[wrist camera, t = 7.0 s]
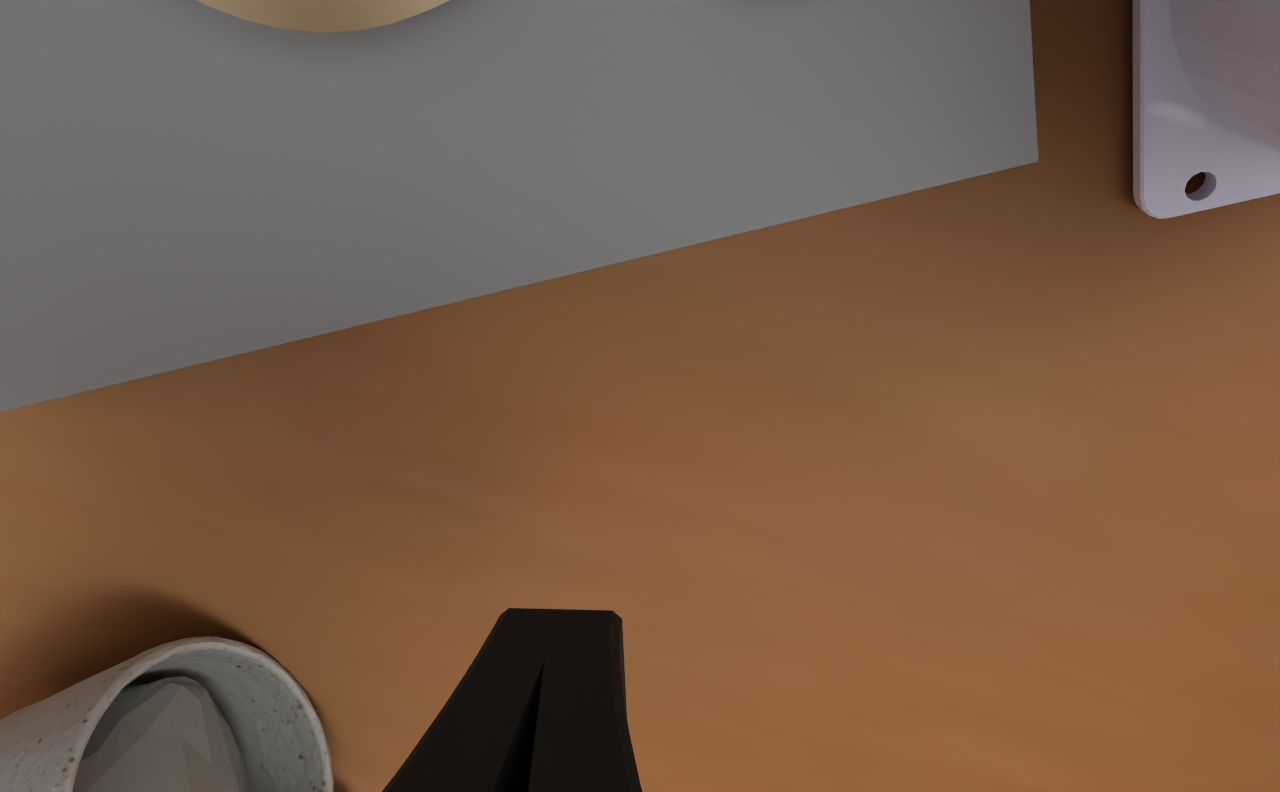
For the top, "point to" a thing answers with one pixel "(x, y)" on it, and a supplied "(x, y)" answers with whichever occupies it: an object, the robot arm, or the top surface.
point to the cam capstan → (324, 12)
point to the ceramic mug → (172, 728)
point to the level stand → (444, 155)
